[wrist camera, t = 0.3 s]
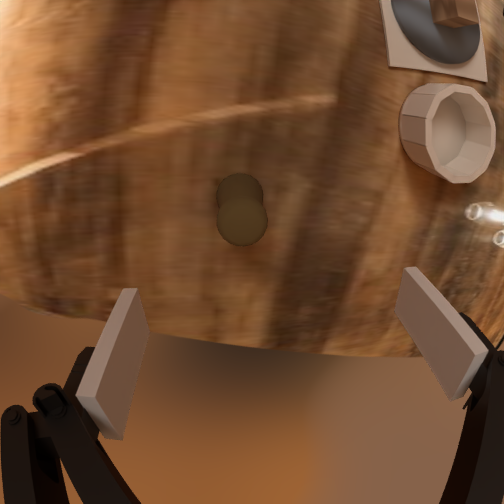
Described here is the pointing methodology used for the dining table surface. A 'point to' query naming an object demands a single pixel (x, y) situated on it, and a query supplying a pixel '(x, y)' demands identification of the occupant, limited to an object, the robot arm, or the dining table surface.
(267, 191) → the dining table surface
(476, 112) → the bowl
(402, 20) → the lid
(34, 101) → the dining table surface
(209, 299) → the dining table surface
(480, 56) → the mat
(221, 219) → the cork
